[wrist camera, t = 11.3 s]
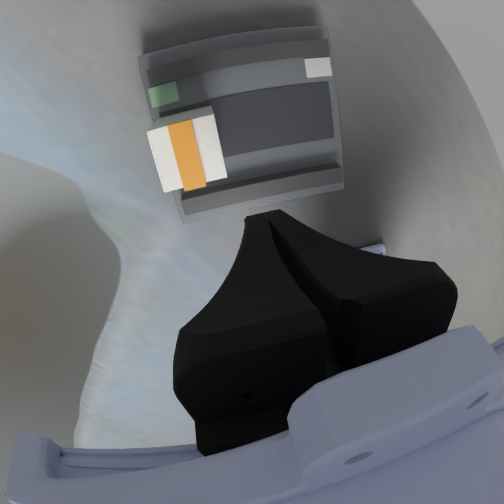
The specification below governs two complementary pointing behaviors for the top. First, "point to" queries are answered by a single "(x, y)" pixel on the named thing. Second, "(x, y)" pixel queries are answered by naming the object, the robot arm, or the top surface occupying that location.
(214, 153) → the breaker lever
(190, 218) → the breaker panel
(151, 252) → the top surface
